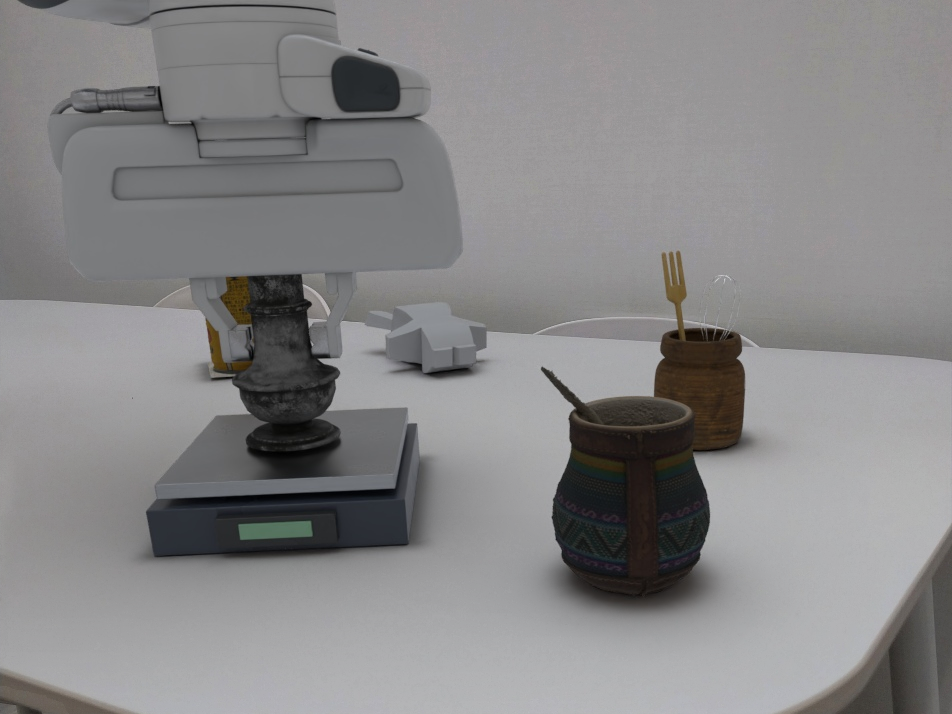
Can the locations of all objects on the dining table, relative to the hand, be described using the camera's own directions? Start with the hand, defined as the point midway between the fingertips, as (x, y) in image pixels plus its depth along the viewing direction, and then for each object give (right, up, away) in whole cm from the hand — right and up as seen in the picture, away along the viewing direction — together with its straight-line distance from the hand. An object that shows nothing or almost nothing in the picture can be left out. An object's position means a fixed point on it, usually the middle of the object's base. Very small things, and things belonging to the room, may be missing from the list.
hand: (284, 358), depth 53 cm
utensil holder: (+25, -4, +12) cm, 28 cm away
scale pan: (0, -5, +2) cm, 6 cm away
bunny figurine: (+5, +6, +38) cm, 38 cm away
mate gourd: (+18, -12, -8) cm, 23 cm away
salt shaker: (0, -4, +2) cm, 5 cm away
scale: (0, -8, +3) cm, 8 cm away
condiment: (-11, +5, +37) cm, 39 cm away
